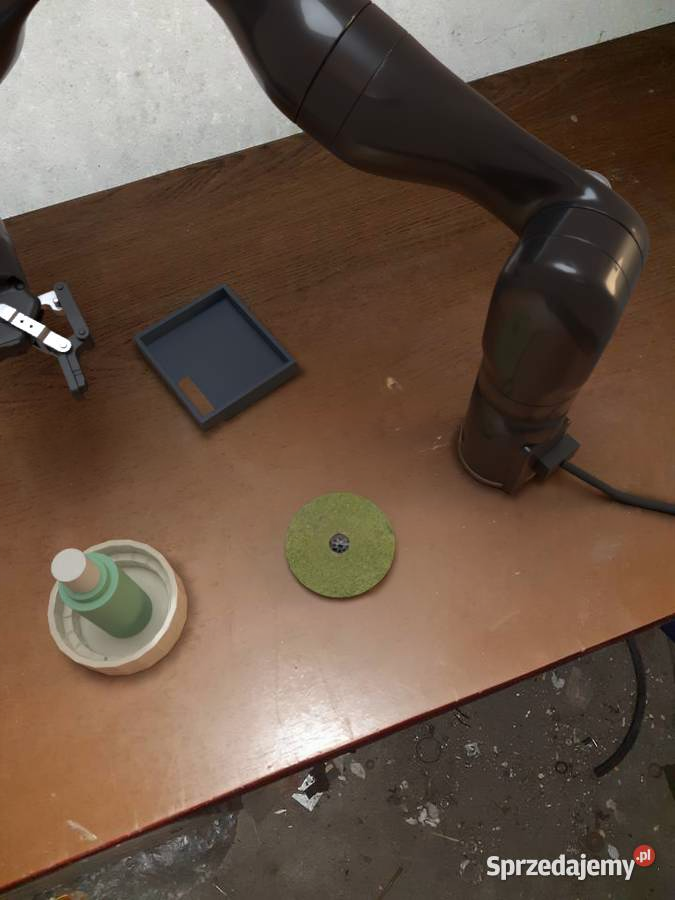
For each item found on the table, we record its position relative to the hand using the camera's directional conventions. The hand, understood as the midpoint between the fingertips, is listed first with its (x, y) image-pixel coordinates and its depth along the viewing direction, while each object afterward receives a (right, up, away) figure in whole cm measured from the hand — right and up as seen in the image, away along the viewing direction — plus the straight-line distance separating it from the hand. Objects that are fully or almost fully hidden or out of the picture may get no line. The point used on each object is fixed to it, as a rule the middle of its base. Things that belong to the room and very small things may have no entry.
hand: (28, 416), depth 57 cm
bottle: (+4, -19, +12) cm, 23 cm away
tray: (+11, +8, +26) cm, 30 cm away
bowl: (+4, -19, +13) cm, 24 cm away
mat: (+26, -13, +15) cm, 33 cm away
